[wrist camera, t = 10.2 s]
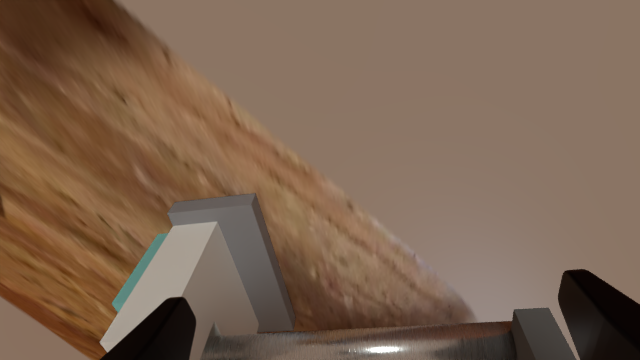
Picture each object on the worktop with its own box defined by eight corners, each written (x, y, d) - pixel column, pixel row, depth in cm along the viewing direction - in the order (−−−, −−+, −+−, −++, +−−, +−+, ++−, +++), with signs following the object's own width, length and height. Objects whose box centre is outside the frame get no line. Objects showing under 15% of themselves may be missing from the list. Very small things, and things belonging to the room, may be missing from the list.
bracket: (230, 321, 31) (186, 454, 23) (174, 202, 25) (88, 328, 17) (295, 317, 30) (274, 455, 22) (255, 193, 24) (205, 321, 16)
